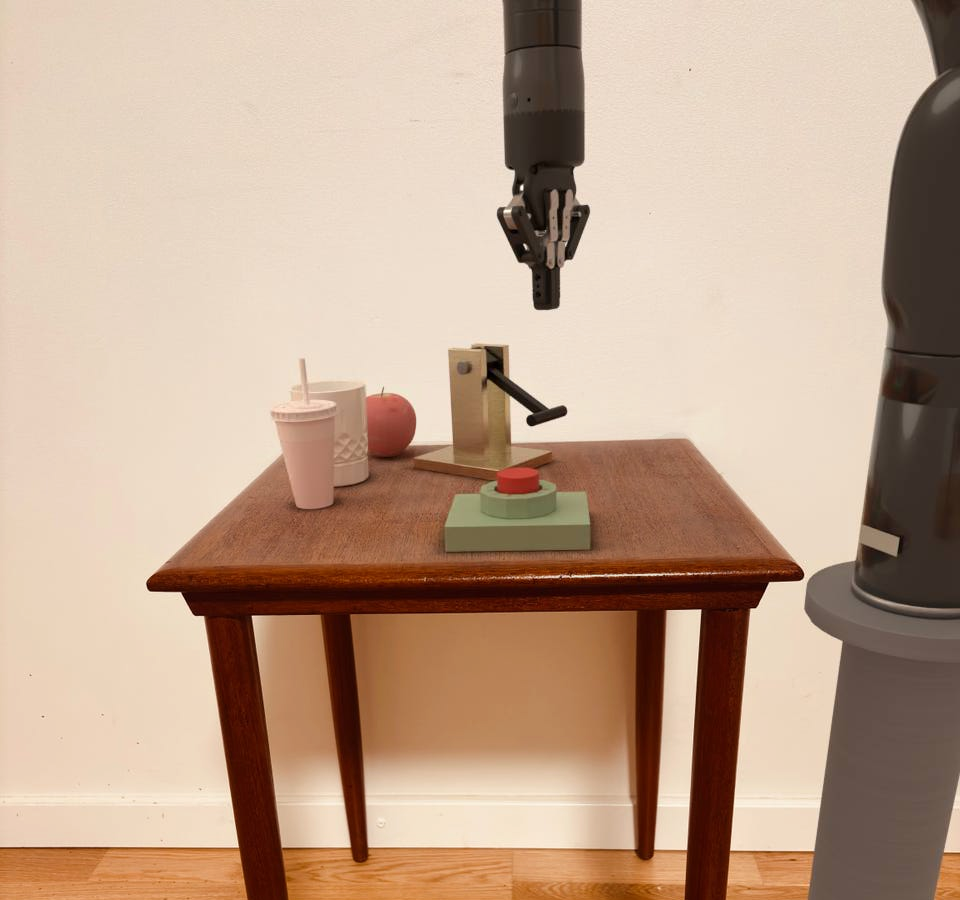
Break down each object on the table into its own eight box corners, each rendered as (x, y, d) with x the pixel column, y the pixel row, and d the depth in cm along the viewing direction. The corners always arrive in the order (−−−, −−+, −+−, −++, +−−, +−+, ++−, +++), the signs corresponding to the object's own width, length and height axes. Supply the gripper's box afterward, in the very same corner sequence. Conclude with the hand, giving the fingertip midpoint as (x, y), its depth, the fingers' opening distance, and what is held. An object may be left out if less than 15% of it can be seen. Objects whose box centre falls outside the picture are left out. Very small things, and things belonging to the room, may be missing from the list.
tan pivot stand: (551, 461, 104) (551, 343, 99) (498, 481, 97) (494, 355, 92) (469, 450, 111) (464, 339, 106) (413, 468, 104) (405, 350, 99)
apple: (377, 447, 114) (371, 381, 111) (429, 451, 111) (424, 383, 108) (343, 460, 109) (336, 391, 105) (396, 465, 105) (391, 393, 102)
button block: (585, 514, 85) (586, 471, 83) (590, 549, 76) (590, 502, 74) (456, 516, 86) (454, 474, 84) (445, 552, 77) (442, 505, 75)
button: (539, 486, 81) (539, 466, 80) (539, 497, 78) (538, 477, 77) (498, 487, 81) (497, 467, 80) (496, 498, 78) (495, 478, 77)
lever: (562, 423, 99) (571, 404, 97) (530, 433, 95) (539, 414, 93) (483, 363, 103) (490, 344, 101) (448, 370, 98) (455, 350, 97)
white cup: (286, 486, 99) (274, 391, 95) (326, 468, 105) (316, 378, 101) (350, 491, 96) (340, 393, 92) (386, 472, 102) (379, 380, 98)
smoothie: (313, 516, 88) (295, 365, 82) (268, 507, 91) (248, 361, 86) (360, 500, 92) (346, 355, 87) (316, 491, 96) (299, 352, 90)
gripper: (536, 100, 78) (540, 316, 85) (615, 110, 87) (613, 303, 94) (467, 111, 82) (476, 315, 89) (550, 119, 92) (552, 303, 99)
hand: (546, 309), depth 92 cm, fingers closed
